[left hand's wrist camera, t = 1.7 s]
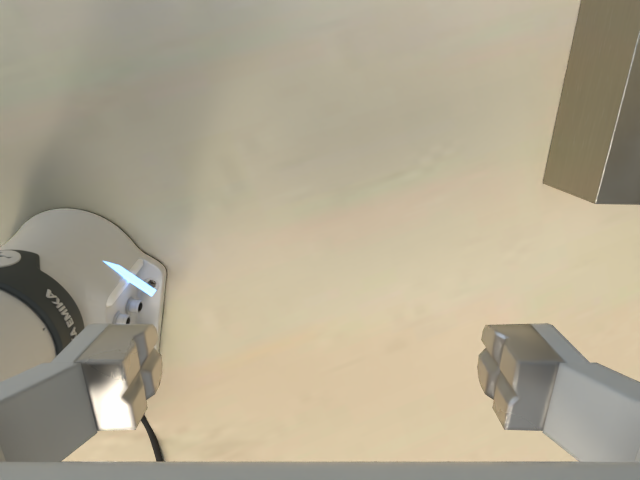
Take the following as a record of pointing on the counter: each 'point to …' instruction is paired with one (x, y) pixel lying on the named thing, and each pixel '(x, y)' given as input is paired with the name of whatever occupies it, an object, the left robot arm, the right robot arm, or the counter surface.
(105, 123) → the counter surface
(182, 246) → the counter surface
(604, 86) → the bar
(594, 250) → the counter surface
